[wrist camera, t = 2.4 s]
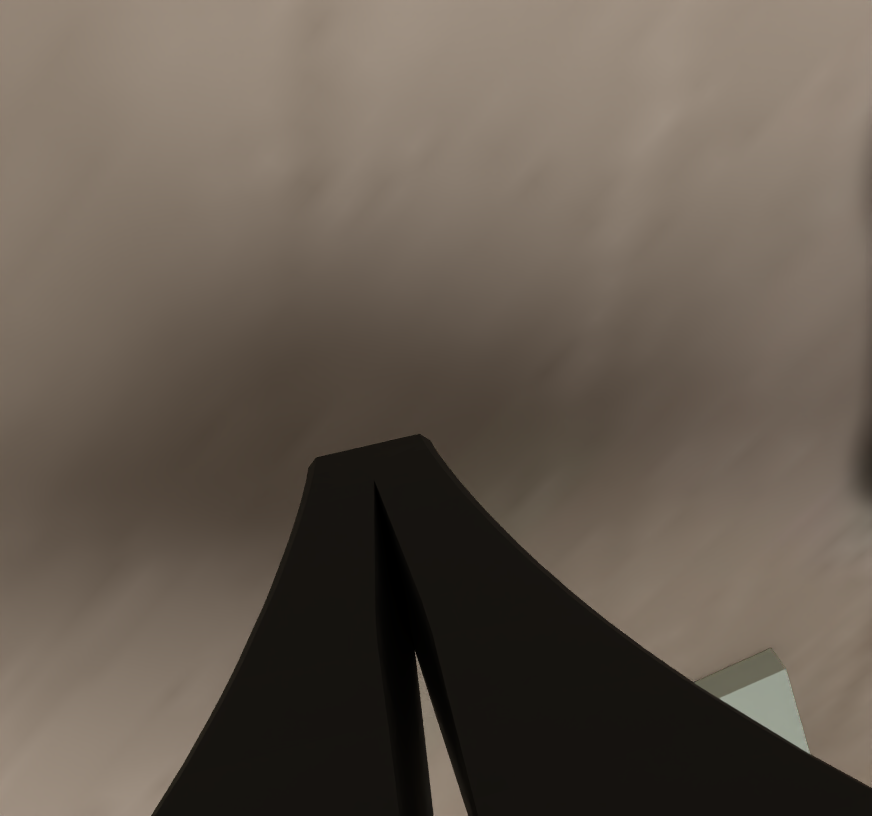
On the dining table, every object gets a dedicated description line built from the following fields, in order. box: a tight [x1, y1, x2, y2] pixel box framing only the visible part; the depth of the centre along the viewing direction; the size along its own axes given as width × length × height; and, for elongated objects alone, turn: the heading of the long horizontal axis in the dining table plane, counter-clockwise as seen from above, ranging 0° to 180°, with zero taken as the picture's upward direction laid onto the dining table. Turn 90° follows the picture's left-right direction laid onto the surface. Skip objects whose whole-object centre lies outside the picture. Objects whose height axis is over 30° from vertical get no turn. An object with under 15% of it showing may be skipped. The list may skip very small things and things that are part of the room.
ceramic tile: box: [694, 648, 810, 754], centre depth 16 cm, size 4×4×1 cm
